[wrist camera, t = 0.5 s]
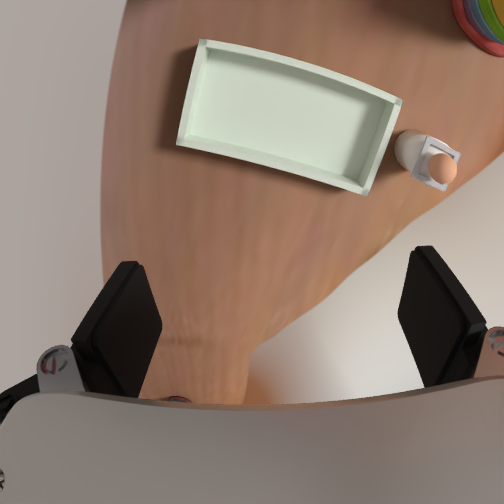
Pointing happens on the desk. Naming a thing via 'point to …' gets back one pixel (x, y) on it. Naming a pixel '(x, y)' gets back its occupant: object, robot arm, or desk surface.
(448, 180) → the ball
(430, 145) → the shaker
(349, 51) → the desk surface
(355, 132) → the tray
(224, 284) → the desk surface
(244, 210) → the desk surface
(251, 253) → the desk surface
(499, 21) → the stacking bear
